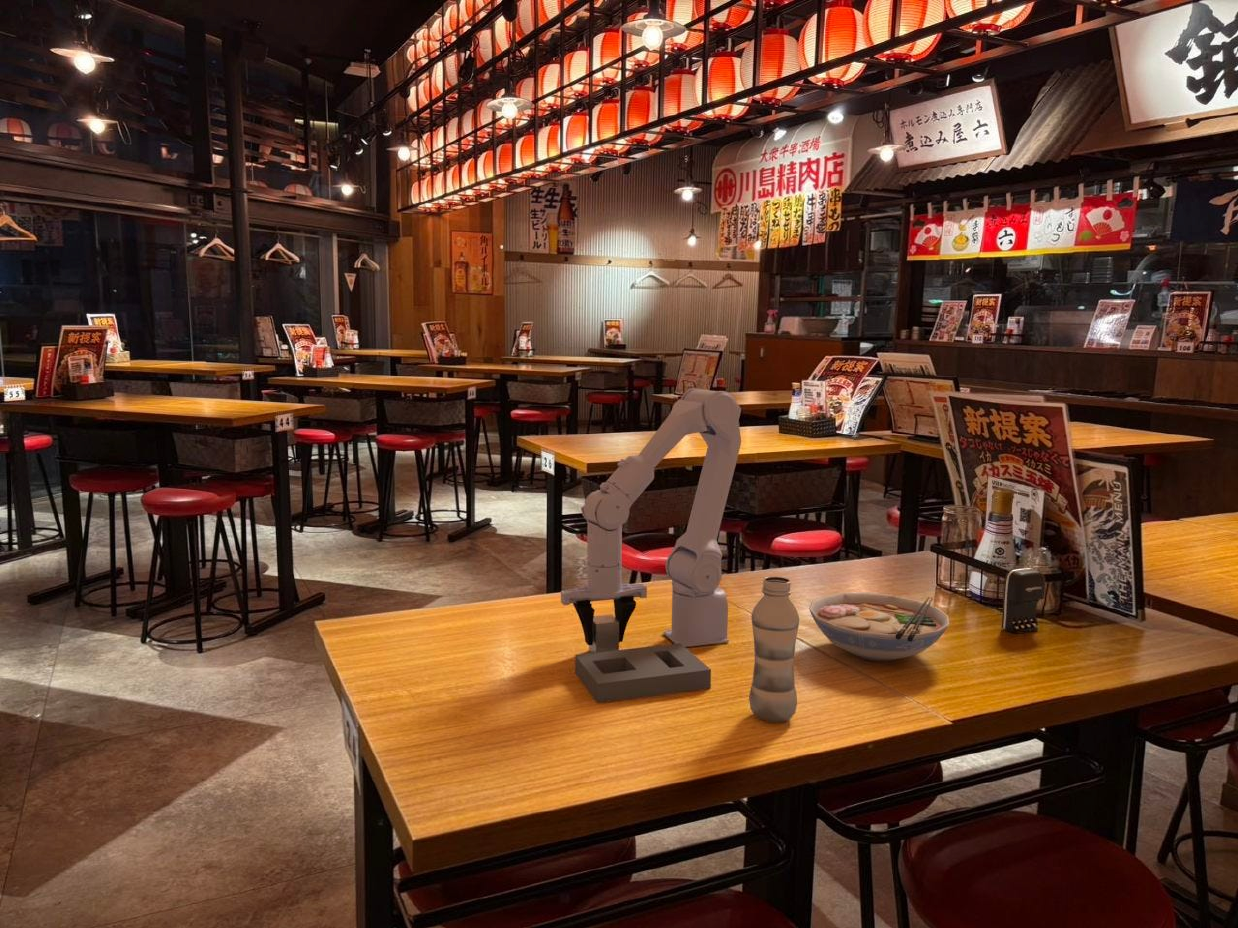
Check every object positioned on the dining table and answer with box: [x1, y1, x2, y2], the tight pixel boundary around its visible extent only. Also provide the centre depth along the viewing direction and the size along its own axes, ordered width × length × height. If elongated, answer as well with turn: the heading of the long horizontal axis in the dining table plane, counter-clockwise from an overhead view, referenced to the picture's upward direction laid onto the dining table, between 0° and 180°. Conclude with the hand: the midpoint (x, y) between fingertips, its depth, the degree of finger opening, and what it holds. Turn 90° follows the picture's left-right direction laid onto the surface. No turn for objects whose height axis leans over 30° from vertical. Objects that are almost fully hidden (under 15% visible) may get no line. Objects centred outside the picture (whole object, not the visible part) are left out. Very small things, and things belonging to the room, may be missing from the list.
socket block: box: [574, 643, 712, 704], centre depth 135 cm, size 18×12×3 cm, turn 109°
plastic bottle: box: [748, 576, 800, 723], centre depth 121 cm, size 6×7×20 cm
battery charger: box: [1001, 567, 1046, 634], centre depth 159 cm, size 7×4×11 cm, turn 111°
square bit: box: [588, 614, 620, 653], centre depth 146 cm, size 4×4×6 cm
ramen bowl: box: [808, 592, 950, 662], centre depth 147 cm, size 25×23×8 cm
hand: (603, 641), depth 146 cm, fingers open, 5 cm apart
